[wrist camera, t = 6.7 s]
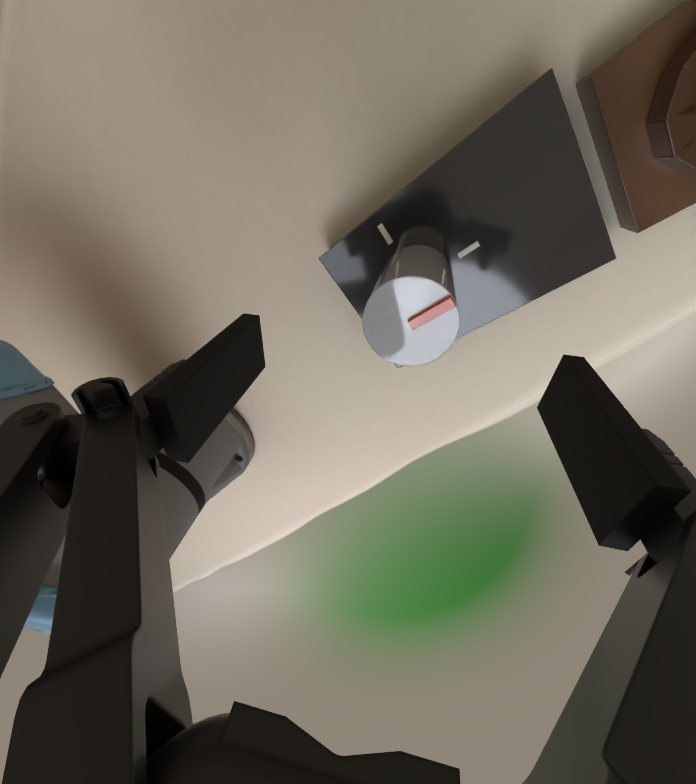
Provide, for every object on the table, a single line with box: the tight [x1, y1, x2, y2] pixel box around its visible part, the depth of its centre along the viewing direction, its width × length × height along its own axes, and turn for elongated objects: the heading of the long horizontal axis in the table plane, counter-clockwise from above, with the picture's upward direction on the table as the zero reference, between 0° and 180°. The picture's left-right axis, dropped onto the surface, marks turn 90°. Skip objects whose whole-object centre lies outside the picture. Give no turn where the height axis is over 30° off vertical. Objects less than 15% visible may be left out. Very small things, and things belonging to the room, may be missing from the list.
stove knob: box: [363, 245, 460, 366], centre depth 20 cm, size 5×5×8 cm
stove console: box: [319, 68, 616, 368], centre depth 23 cm, size 16×11×3 cm
